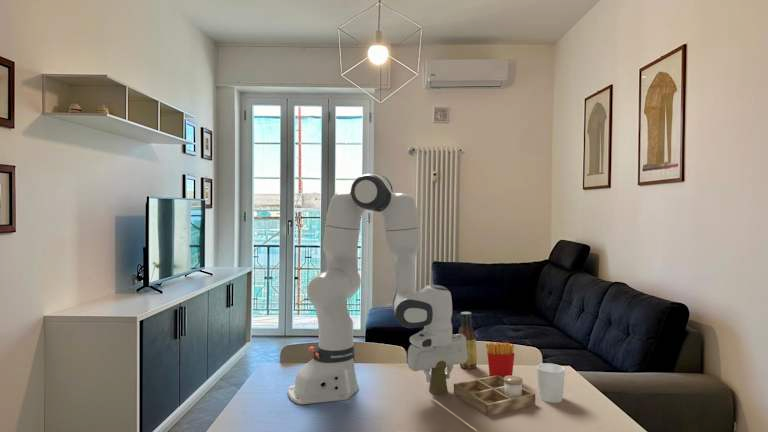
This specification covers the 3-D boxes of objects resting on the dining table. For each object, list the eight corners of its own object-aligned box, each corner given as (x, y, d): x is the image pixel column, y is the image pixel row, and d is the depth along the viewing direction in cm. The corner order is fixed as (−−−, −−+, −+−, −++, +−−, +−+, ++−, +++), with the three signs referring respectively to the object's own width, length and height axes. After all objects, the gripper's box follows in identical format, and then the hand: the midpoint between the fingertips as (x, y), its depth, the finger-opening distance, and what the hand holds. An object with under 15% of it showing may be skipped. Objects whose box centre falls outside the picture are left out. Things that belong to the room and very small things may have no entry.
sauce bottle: (479, 365, 173) (479, 312, 172) (472, 371, 168) (472, 315, 167) (462, 362, 176) (462, 310, 176) (455, 367, 171) (455, 313, 170)
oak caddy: (487, 418, 131) (487, 405, 131) (453, 395, 147) (453, 383, 146) (535, 406, 138) (535, 394, 138) (498, 386, 154) (498, 374, 154)
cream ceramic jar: (511, 406, 137) (511, 383, 137) (499, 399, 142) (499, 377, 141) (526, 403, 139) (526, 380, 139) (514, 396, 144) (514, 374, 144)
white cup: (547, 407, 138) (547, 373, 138) (531, 396, 145) (531, 364, 145) (570, 404, 140) (570, 370, 140) (553, 393, 147) (554, 362, 147)
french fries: (512, 378, 160) (512, 340, 160) (515, 383, 156) (515, 344, 155) (485, 378, 161) (485, 340, 160) (487, 383, 156) (487, 344, 156)
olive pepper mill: (447, 397, 145) (447, 362, 145) (427, 396, 146) (427, 361, 146) (448, 390, 151) (448, 356, 150) (429, 388, 152) (429, 355, 152)
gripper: (460, 330, 155) (460, 371, 155) (404, 337, 147) (405, 381, 147) (471, 335, 149) (471, 378, 150) (414, 343, 141) (414, 389, 141)
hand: (438, 380), depth 148 cm, fingers closed on olive pepper mill, 5 cm apart
